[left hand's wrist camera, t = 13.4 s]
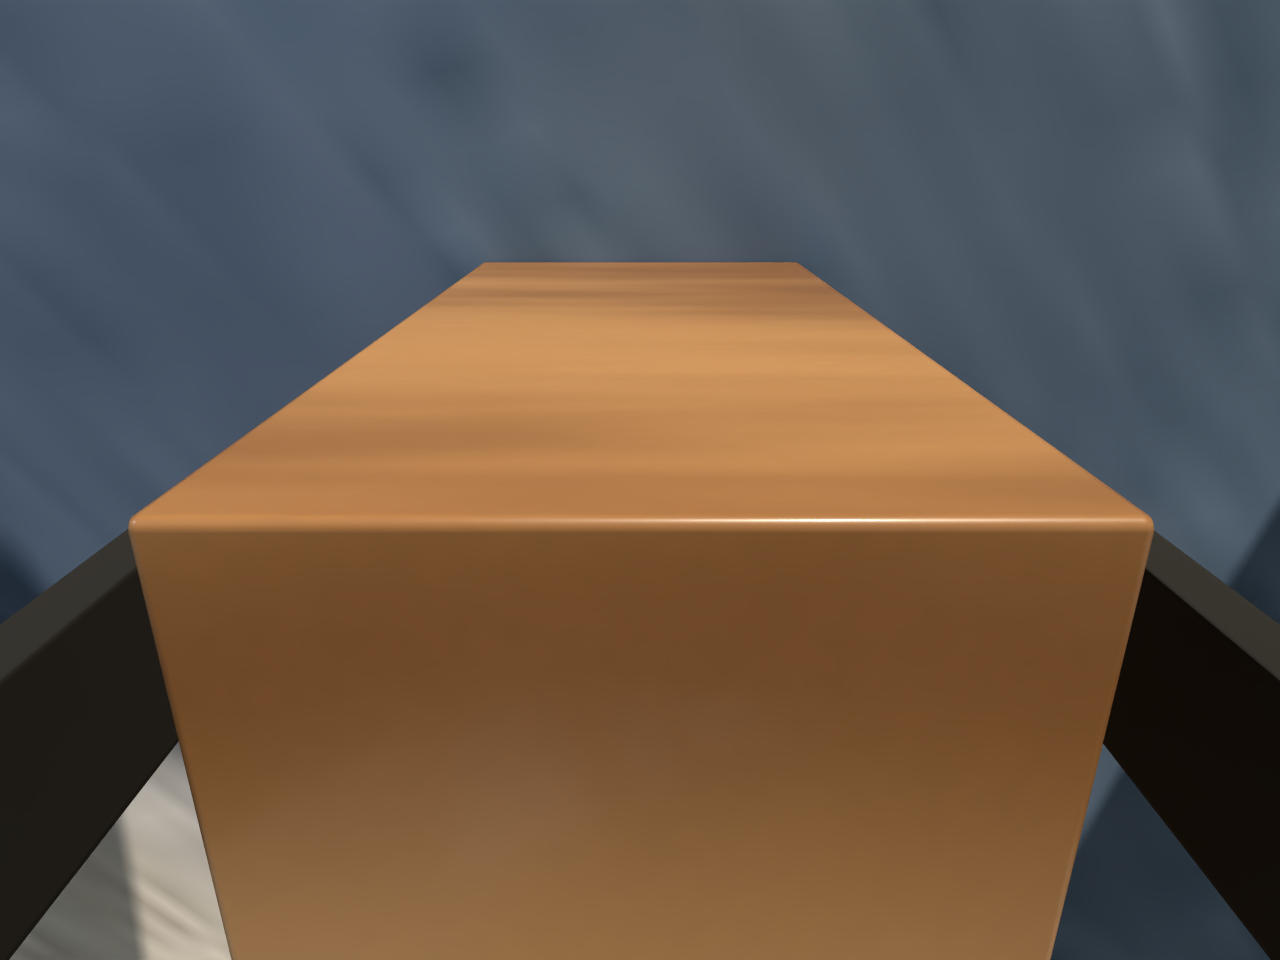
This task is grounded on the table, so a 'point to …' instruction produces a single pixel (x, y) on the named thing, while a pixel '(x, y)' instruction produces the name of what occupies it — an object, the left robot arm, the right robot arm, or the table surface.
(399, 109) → the table surface
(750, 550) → the box
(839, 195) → the table surface
